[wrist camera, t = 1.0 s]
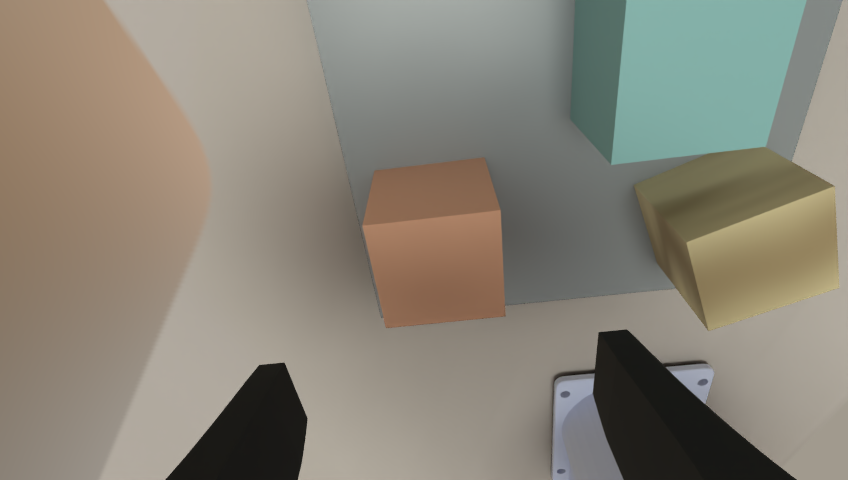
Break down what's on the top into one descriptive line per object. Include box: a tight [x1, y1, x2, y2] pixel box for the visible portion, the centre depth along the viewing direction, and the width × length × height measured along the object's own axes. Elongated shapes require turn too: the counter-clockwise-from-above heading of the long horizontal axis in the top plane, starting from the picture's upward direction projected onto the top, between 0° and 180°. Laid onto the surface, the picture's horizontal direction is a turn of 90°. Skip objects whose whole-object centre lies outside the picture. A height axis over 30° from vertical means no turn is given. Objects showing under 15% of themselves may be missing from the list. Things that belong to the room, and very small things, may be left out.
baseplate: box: [307, 0, 842, 318], centre depth 15 cm, size 20×16×1 cm
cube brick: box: [362, 157, 505, 328], centre depth 16 cm, size 4×4×4 cm
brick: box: [634, 147, 839, 331], centre depth 16 cm, size 4×4×4 cm
